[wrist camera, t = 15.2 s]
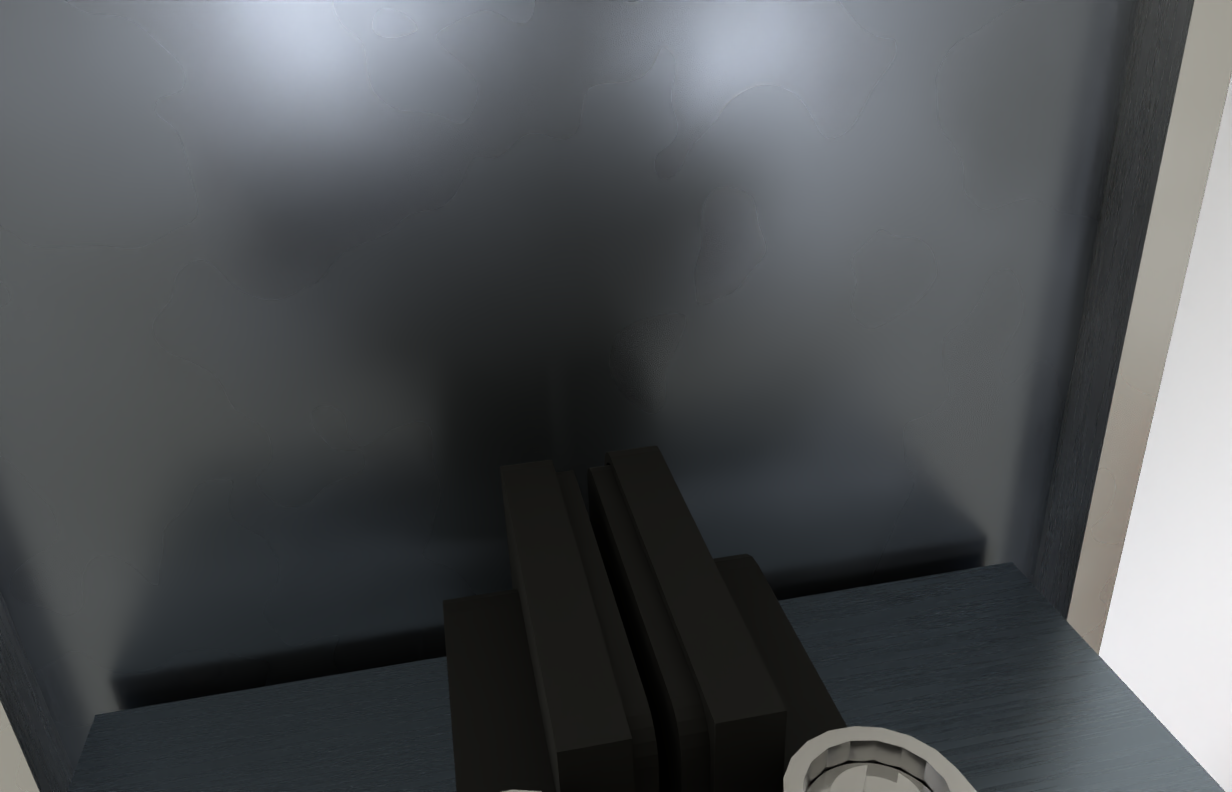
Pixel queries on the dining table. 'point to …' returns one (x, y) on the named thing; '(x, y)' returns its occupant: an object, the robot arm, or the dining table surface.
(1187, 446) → the dining table surface
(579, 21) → the tray
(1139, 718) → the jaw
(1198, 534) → the dining table surface
